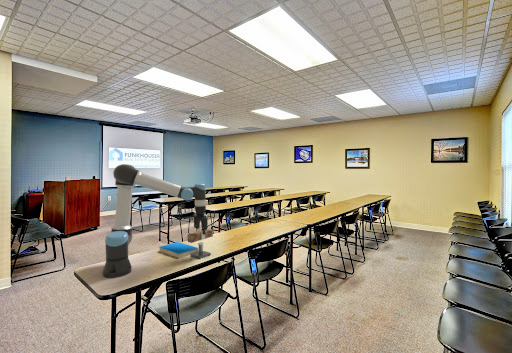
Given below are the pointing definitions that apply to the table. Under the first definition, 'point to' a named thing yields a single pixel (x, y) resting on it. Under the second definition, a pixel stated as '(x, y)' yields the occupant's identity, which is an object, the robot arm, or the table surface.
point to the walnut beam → (199, 235)
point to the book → (178, 249)
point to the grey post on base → (200, 252)
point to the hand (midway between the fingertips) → (200, 238)
